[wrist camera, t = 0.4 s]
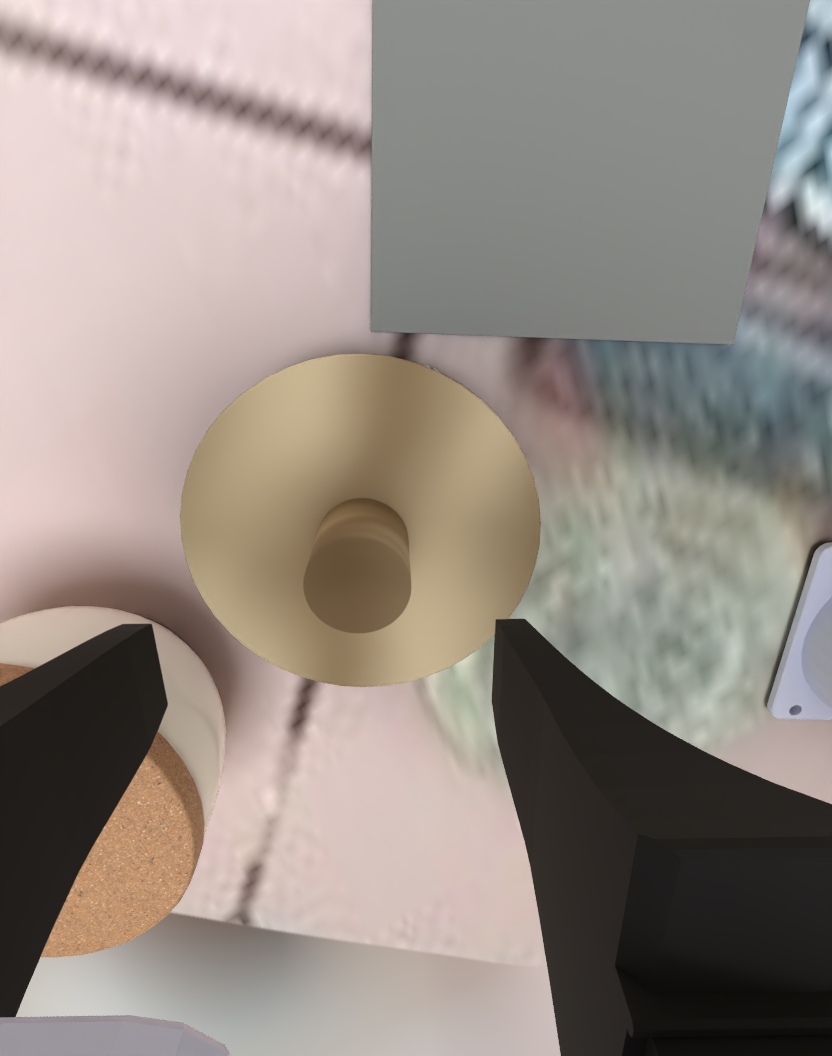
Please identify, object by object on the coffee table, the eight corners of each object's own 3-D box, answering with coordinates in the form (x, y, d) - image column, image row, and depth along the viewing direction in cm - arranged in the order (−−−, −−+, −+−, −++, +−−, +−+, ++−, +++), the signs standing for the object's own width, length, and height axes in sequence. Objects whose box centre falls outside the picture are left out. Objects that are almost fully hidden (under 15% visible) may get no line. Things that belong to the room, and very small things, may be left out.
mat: (831, -136, 15) (842, -147, 15) (726, 344, 19) (733, 344, 19) (374, -162, 15) (373, -175, 14) (371, 331, 19) (370, 331, 18)
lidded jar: (115, 810, 26) (-32, 1060, 17) (-63, 637, 23) (-355, 840, 14) (308, 714, 24) (252, 939, 16) (147, 511, 21) (-39, 653, 12)
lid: (556, 359, 16) (599, 376, 13) (517, 677, 20) (541, 751, 17) (165, 346, 16) (103, 360, 12) (206, 675, 20) (168, 751, 17)
